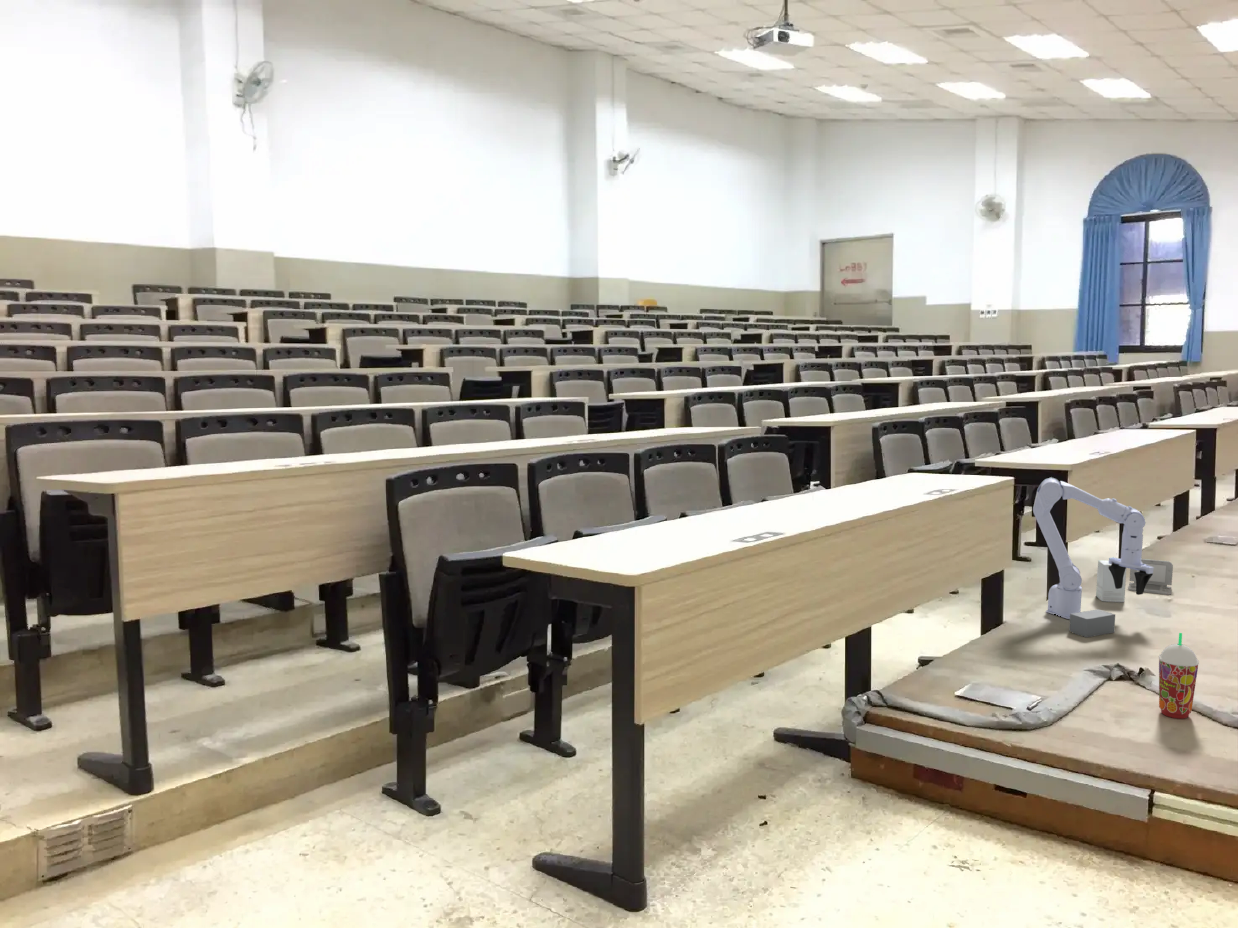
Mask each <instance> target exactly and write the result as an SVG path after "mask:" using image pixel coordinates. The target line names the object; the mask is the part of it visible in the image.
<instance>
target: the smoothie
mask: <svg viewBox="0 0 1238 928" xmlns="http://www.w3.org/2000/svg"><path fill="white" fill-rule="evenodd" d="M1177 641H1178V643H1173V644H1169V645H1168V646H1166V647H1165V648H1164V649H1163V650H1162V652H1161V653H1160V654H1159V656H1158V707H1159V709H1160V711H1161V712H1160V713H1161V714H1162V715H1164V716H1166V717H1168V718H1171V719H1177V720H1178V719H1179V720H1180V719H1182V720H1184V719H1187V718H1189V715H1190V714H1191V713H1192V710H1193V704H1194V697H1195V689H1196V684H1197V675H1198V669H1199V665H1200V661H1199V660H1198V657H1197V654H1196V653H1195V651H1193V649H1192V648H1190V647H1189V646H1187V645H1185V644H1182V643H1183V642H1182V641H1183V633H1182V632H1179V633H1178V640H1177Z"/></svg>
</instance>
